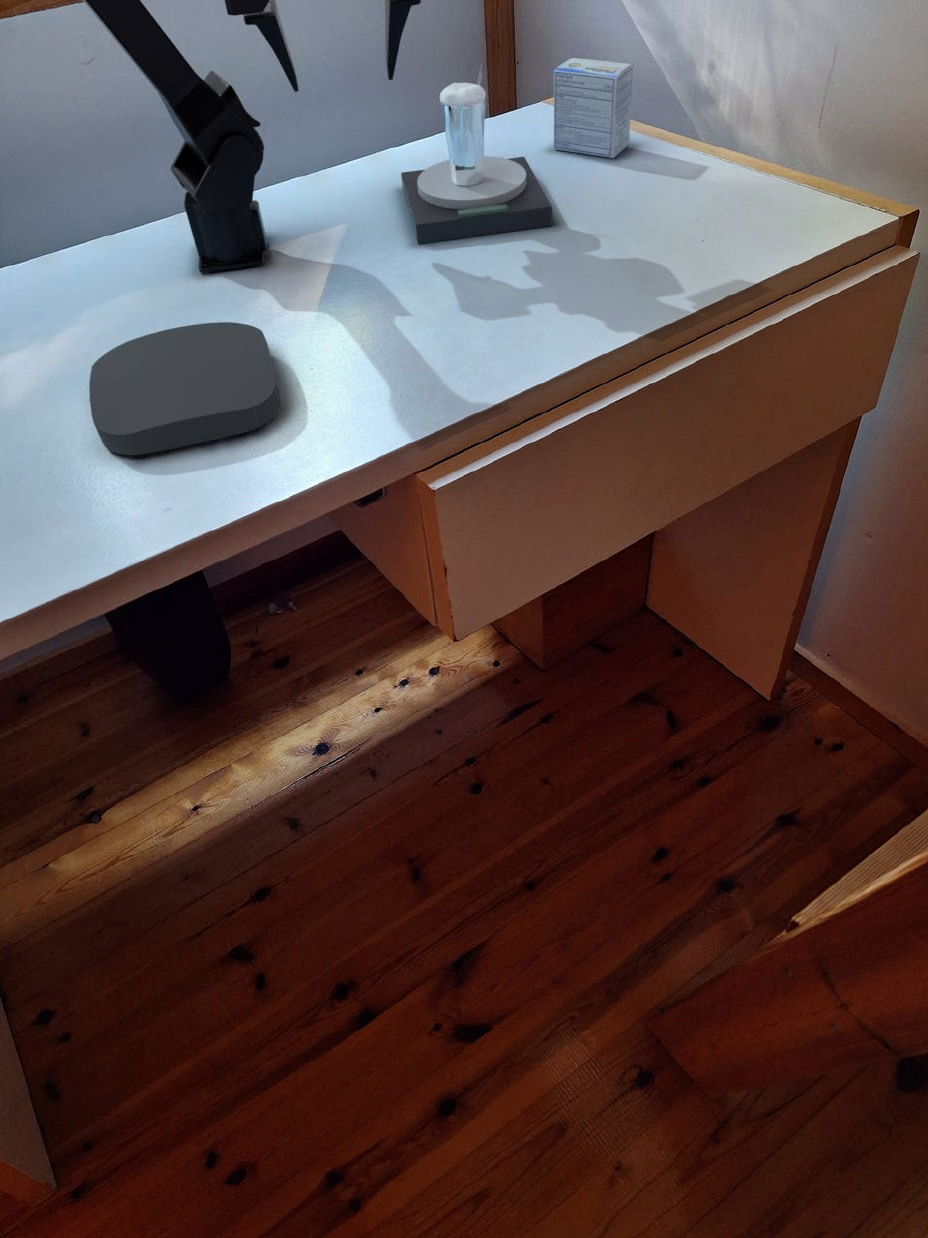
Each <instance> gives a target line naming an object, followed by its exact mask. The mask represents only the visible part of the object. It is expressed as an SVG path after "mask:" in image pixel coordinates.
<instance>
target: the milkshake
mask: <svg viewBox="0 0 928 1238" xmlns="http://www.w3.org/2000/svg"><path fill="white" fill-rule="evenodd" d="M484 70H485V65H483V64H480V67H479V74H478V78H477V83H471V82H452V83H451V84H449V85H448V86H446V87H445V88H443V90H441V92H440V94H439V102H440V107H441V114H442V119H443V126H444V132H445V139H446V147H447V153H448V154H447V155H448V160H449V161H450V168H451V175H452V181H453V183H455V184H456V185H459V186H472V185H476V184H478V183H480V182H482V180H483V163H484V156H485V124H486V123H485V122H486V103H487V102H486V101H487V100H486V99H487V94H486V90H485V89H484V88H483V87H482V86H481V85H482V82H483V81H482V80H483V76H484Z"/></svg>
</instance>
